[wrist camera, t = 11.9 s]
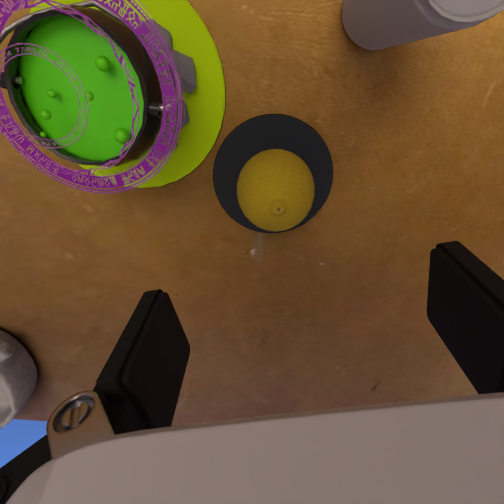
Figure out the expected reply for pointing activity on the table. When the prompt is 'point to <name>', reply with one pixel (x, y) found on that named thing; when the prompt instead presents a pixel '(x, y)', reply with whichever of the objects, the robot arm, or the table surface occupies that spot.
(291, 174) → the lemon
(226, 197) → the disc
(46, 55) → the toy cauldron
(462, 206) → the table surface
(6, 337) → the dish
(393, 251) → the table surface
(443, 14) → the beverage can
